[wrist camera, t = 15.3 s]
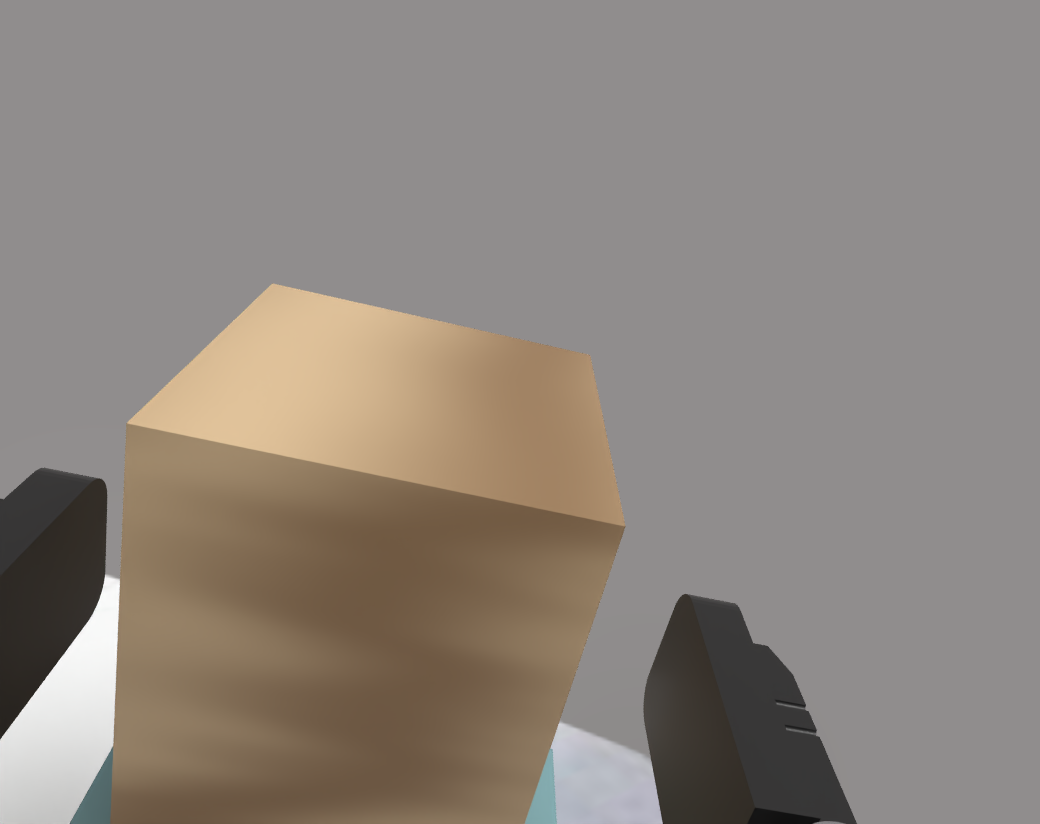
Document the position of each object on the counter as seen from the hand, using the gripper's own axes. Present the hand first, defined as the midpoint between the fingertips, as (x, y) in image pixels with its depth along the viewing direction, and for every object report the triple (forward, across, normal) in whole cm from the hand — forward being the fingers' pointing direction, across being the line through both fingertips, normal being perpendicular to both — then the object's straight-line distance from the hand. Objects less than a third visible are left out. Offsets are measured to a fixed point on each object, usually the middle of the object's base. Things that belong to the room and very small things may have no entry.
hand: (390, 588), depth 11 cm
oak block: (0, 0, +7) cm, 7 cm away
